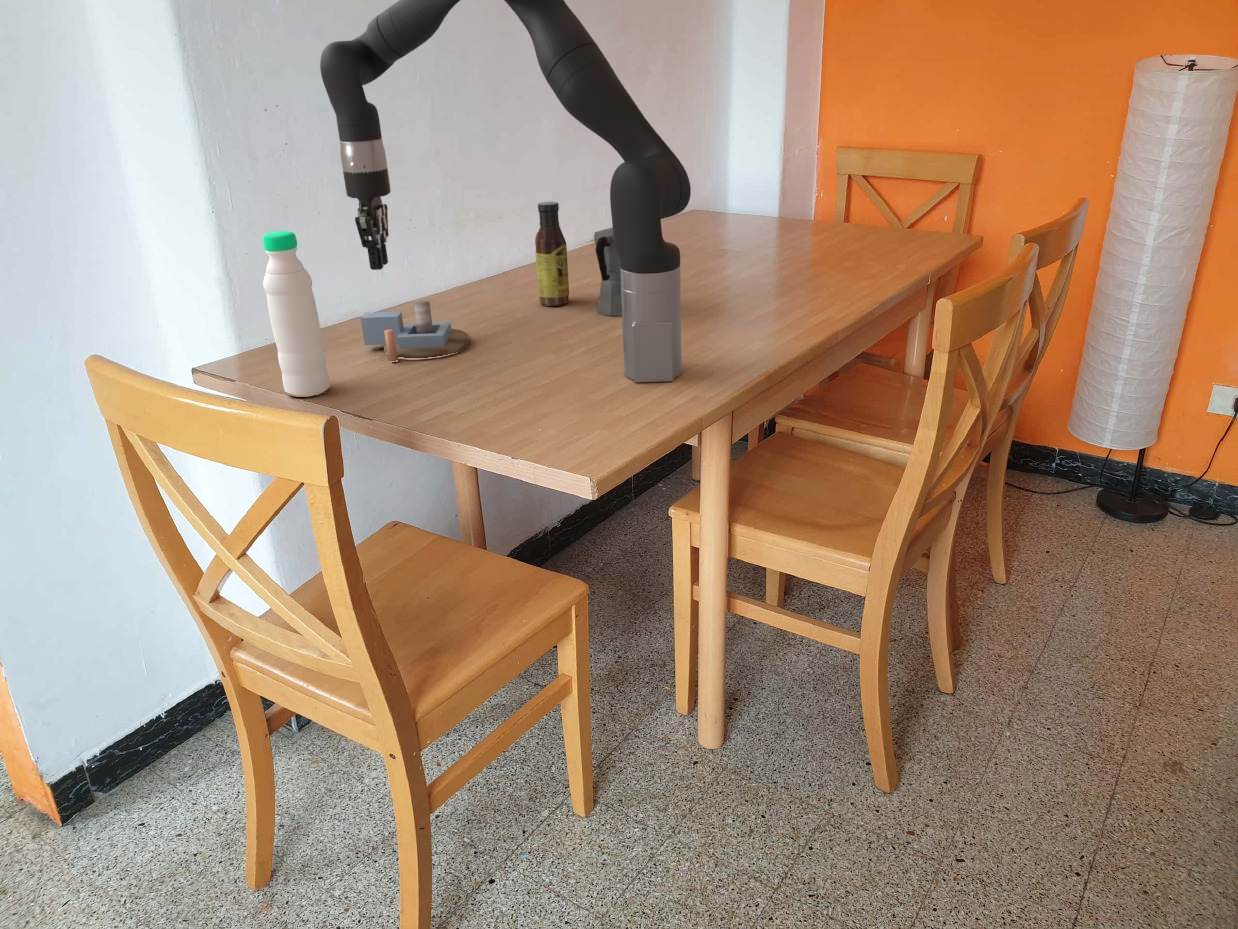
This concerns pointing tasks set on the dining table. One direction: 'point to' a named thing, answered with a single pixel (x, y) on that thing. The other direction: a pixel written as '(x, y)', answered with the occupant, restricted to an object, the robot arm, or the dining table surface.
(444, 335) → the blue-grey block with frame
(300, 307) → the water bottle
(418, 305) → the post stand
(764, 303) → the dining table surface
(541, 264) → the sauce bottle
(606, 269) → the coffeepot
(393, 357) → the dowel
